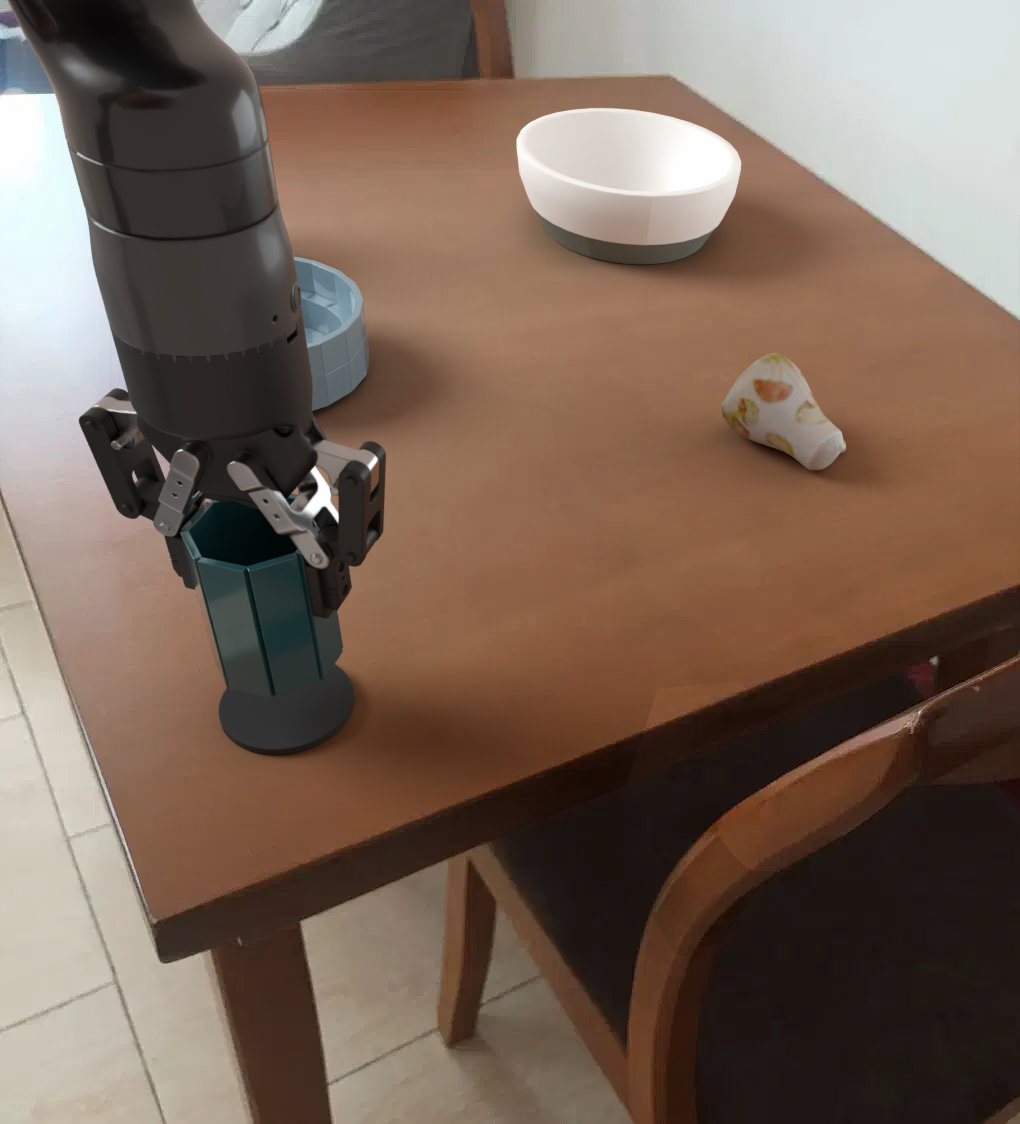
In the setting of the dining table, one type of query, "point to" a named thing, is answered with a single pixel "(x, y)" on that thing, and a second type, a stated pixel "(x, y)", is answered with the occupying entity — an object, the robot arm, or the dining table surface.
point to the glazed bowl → (332, 330)
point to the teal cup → (257, 602)
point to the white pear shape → (782, 413)
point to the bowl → (627, 182)
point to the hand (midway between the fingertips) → (266, 592)
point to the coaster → (288, 716)
